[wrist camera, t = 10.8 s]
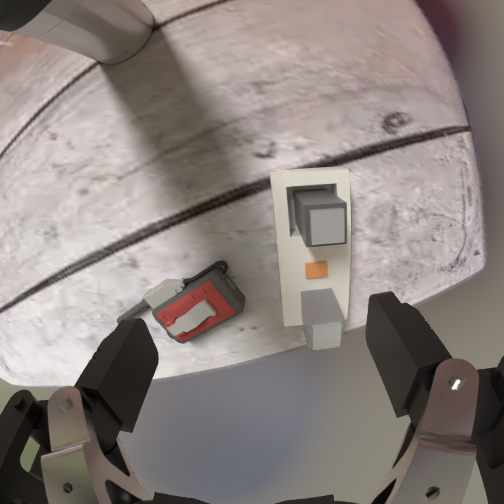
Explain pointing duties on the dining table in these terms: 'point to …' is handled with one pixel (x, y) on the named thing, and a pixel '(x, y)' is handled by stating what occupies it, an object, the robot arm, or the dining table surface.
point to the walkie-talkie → (192, 303)
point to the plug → (320, 217)
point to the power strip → (312, 259)
